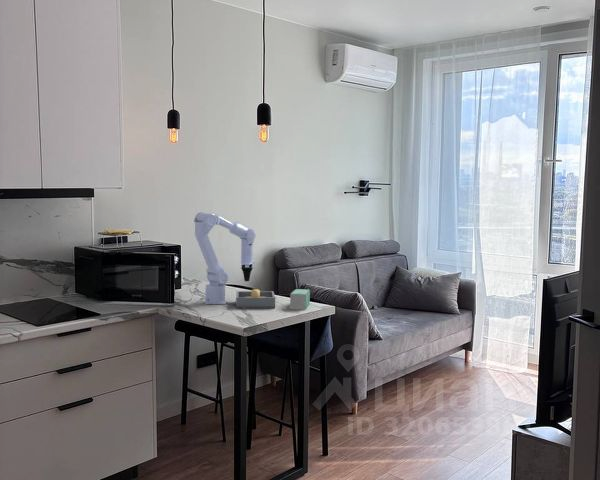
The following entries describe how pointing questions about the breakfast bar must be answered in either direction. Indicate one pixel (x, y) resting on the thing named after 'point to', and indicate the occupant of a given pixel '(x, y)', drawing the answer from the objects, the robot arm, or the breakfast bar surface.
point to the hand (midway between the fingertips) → (246, 279)
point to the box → (300, 299)
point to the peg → (255, 293)
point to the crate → (255, 300)
